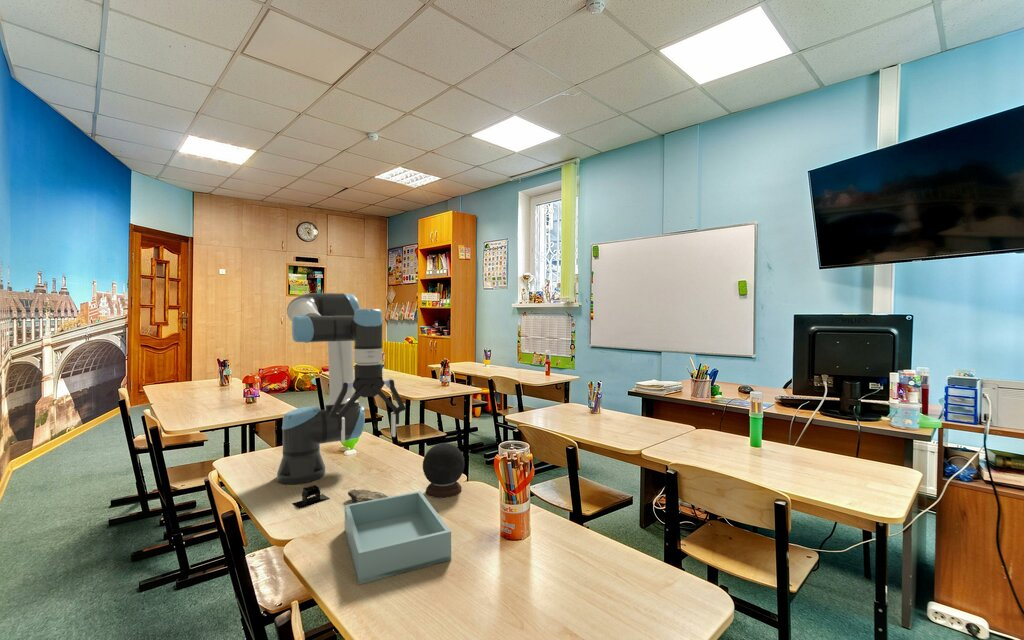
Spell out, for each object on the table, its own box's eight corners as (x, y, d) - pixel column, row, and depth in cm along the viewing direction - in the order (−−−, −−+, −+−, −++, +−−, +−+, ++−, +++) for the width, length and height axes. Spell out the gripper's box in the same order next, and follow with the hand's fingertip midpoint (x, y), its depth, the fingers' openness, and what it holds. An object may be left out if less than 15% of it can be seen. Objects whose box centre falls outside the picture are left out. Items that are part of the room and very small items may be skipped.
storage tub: (344, 530, 114) (344, 505, 114) (420, 514, 123) (420, 491, 123) (358, 584, 90) (358, 553, 90) (451, 559, 100) (451, 531, 100)
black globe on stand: (414, 495, 136) (414, 447, 136) (437, 480, 148) (436, 436, 148) (451, 502, 131) (451, 452, 131) (471, 486, 143) (471, 440, 143)
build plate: (294, 513, 125) (294, 497, 125) (284, 506, 130) (284, 490, 130) (336, 499, 134) (336, 484, 134) (325, 493, 139) (325, 479, 139)
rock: (408, 502, 131) (408, 490, 131) (390, 518, 121) (390, 505, 121) (355, 496, 136) (354, 484, 136) (332, 511, 126) (332, 498, 126)
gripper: (320, 367, 114) (321, 448, 115) (415, 362, 125) (416, 436, 126) (319, 364, 121) (319, 440, 121) (409, 360, 132) (409, 430, 132)
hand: (368, 438), depth 124 cm, fingers open, 13 cm apart
